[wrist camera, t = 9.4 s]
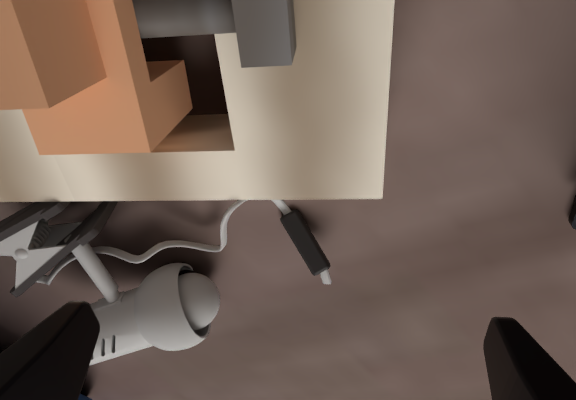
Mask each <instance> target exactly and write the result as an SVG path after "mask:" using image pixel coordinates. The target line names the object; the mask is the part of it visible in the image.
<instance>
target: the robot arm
mask: <svg viewBox="0 0 576 400" xmlns="http://www.w3.org/2000/svg"><path fill="white" fill-rule="evenodd" d="M574 202H575V203H574V206H573V209H572V211H571V214H570V216H569V223H570V224H571V226H572V227H573V228H574V229H575V230H576V196H575V198H574ZM99 333H100V323H99V321H98V319H97V317H96V315H95V313H94V311H93V310H92V308H91V306H90V304H89V303H88V302H85V301H70V302H68V303H66V304H65V305H63V306H62V307H61V308H59V309H58V310H57V311H55V312H54V313H53V314H51V315H50V316H49V317H47V318H46V319H45V320H44V321H42V322H41V323H40V324H38V325H37V326H36V327H34V328H33V329H32V330H30V331H29V332H28V333H26V334H25V335H24V336H22V337H21V338H20V339H18V340H17V341H16V342H14V343H13V344H12V345H10V346H9V347H8V348H7V349H5V350H4V351H3V352H1V353H0V400H78V398H79V395H80V392H81V389H82V387H83V384H84V380H85V377H86V374H87V371H88V368H89V365H90V362H91V358H92V355H93V352H94V349H95V346H96V343H97V339H98V336H99ZM484 355H485V361H486V367H487V372H488V378H489V384H490V390H491V396H492V400H576V383H575V382H574V381H573V380H572V378H571V377H570V376H569V375H568V374H567V373H566V372H565V371H564V370H563V369H562V368H561V367H560V366H559V365H558V364H557V363H556V362H555V361H554V360H553V358H552V357H551V356H550V355H549V354H548V353H547V352H546V351H545V350H544V349H543V348H542V347H541V346H540V345H539V344H538V343H537V342H536V341H535V340H534V338H533V337H532V336H531V335H530V334H529V333H528V332H527V331H526V330H525V329H524V328H523V327H522V326H521V325H520V324H519V323H518V322H517V321H516V320H515V319H513V318H510V317H493V318H492V319H491V321H490V323H489V326H488V329H487V333H486V336H485V339H484Z"/></svg>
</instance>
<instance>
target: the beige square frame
mask: <svg viewBox="0 0 576 400" xmlns="http://www.w3.org/2000/svg"><path fill="white" fill-rule="evenodd" d="M132 2H133V7H134V11H135V16H136V20H137V24H138V29H139V33H140V38H155V37H172V36H189V35H207V34H214V36H215V42H216V47H217V53H218V58H219V64H220V70H221V75H222V81H223V87H224V92H225V98H226V103H227V109H228V114H211V115H186V116H185V117H184V118H183V119H182V120H181V121H180V122H179V123H178V124H177V125H176V126H175V127H174V128H173V130H172V131H171V132H170V133H169V134H168V135H167V136H166V137H165V138H164V139H163V140H162V141H161V142H160V143H159V144H158V145H157V146H156V147H155V149H154V150H153V151H152V152H151V153H110V154H66V155H39V152H38V150H37V147H36V145H35V142H34V140H33V137H32V134H31V132H30V129H29V127H28V124H27V121H26V119H25V116H24V114H23V111H22V109H16V110H0V202H59V201H177V200H296V199H382V196H383V180H384V163H385V147H386V131H387V115H388V99H389V83H390V66H391V50H392V34H393V18H394V2H395V0H132Z"/></svg>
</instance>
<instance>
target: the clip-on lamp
mask: <svg viewBox="0 0 576 400" xmlns="http://www.w3.org/2000/svg"><path fill="white" fill-rule="evenodd" d="M245 201H247V200H237V201H236V202H235V203H234V204H232V205H231V206H230V207H229V208H228V210H227V211H226V212H225V214H224V216H223V218H222V221H221V224H220V240H221V245H219V246H216V245H207V244H201V243H196V242H190V241H181V240H171V241H164V242H161V243H158V244H157V245H155V246H153V247H152V248H151V249H149V250H148V251H147V252H145V253H144V254H142V255H138V256H137V255H132V254H130V253H127V252H125V251H123V250H120V249H118V248H113V247H109V246H98V247H92V248H91V246H90V245H89V243H88V242H89V241H91V240H92V239H93V238H95V237H96V236H97V235H98V234H99V233H100V231H101V230H102V228H103V227H104V225H105V223H106V221H107V220H108V218H109V216H110V214H111V213H112V211H113V209H114V208H115V206H116V204H117V202H118V201H103V202H102V203H101V204H100V205H99V206H98V208H97V209H96V210H95V211H94V212H93V213H92V214H91V215H89V216H88V217H87V218H86V219H85V220H84V221H82V222H76V223H67V224H59V225H50V226H49V225H48V224H47V223H48V221H49V219H50V218H52V217H54V216H55V215H57V214H58V213H60V212H61V211H63V210H64V209H65V208H66V207H67V206H68V205H69V204H70V202H71V201H59V202H35V203H33V204H31V205H29V206H27V207H26V208H24V209H22V210H20V211H18V212H17V213H15V214H13V215H11V216H9V217H8V218H6V219H4V220H2V221H0V256H13V258H14V259H15V260H16V261H17V265H16V282H15V286H14V287H13V288H12V290H11V291H10V293H11V294H13V295H14V296H15V297H18V296H20V295H21V294H22V293H23V292H24V291H26V290H27V289H28V288H29V287H30V286H32V285H33V284H34V283H35V282H38V283H44V284H48V285H50V283H51V281H52V280H53V278H54V277H55V276H56V274H57V273H58V272H59V271H60V270H61V269H62V268H63V267H64V266H66V265H67V264H68V263H70V262H71V261H73V260H75V259H77V260H78V261H79V263H80V264H81V265H82V267H83V268H84V270H85V271H86V272H87V274H88V275H89V276H90V278H91V279H92V281H93V282H94V283H95V285H96V286H97V288H98V289H99V290H100V291H101V293H102V294H103V296H104V297H105V298H102V299H99V300H98V301H97V302H95V303H92V304H90V306H91V308H92V310H93V311H94V313H95V315H96V317H97V319H98V321H99V323H100V333H99V336H98V339H97V343H96V346H95V349H94V352H93V355H92V358H91V362H90V365H92V364H96V363H99V362H102V361H105V360H109V359H112V358H115V357H118V356H122V355H125V354H128V353H131V352H135V351H138V350H141V349H144V348H148V347H151V346H155V347H157V348H160V349H163V350H168V351H178V350H183V349H187V348H191V347H193V346H195V345H197V344H199V343H200V342H202V341H203V340H204V339H205V338H206V337H207V336H208V334H209V331H210V327H211V321H212V320H213V319H214V317H215V316H216V314H217V312H218V310H219V305H220V295H219V291H218V289H217V287H216V285H215V284H214V282H213V281H212V280H211V279H210V278H208V277H207V276H204V275H202V274H198V273H186V274H183V275H180V276H178V273H179V271H181V270H192V271H193V269H192V267H191V266H190V265H189V264H185V263H171V264H167V265H165V266H162V267H160V268H158V269H156V270H154V271H153V272H151V273H150V274H149V275H147V276H146V277H145V278H144V280H143V281H142V282H141V284H140V285H139V287H138V288H135V289H132V290H129V291H126V292H124V291H123V292H120V293H119V291H118V290H117V289H118V285H117V284H116V282H115V281H114V279H113V278H112V276H111V275H110V274H109V272H108V271H107V269H106V268H105V266H104V265H103V263H102V262H101V261H100V259H99V258H98V256H97V255H96V254H108V255H112V256H115V257H118V258H120V259H122V260H125V261H128V262H130V263H136V264H137V263H141V262H144V261H146V260H147V259H149V258H150V257H151V256H153V255H154V254H155V253H157V252H159V251H160V250H162V249H165V248H168V247H186V248H193V249H198V250H203V251H208V252H218V251H221V250H222V249H223V248H224V247H225V245H226V244H227V222H228V219H229V217H230V215H231V214H232V212H233V211H234V210H235V209H236V208H237V207H238V206H239V205H241V204H242V203H244V202H245ZM272 201H273V202H274V203H275V204H276V205H277V207H278V208H279V209H280V210H281V212H282V213H283V215H284V216H282V217H281V218H280V220H281V223H282V224H283V226H284V228H285V229H286V231H287V233H288V234H289V236H290V238H291V239H292V241H293V243H294V244H295V246H296V248H297V249H298V251H299V253H300V254H301V256H302V258H303V259H304V261H305V263H306V264H307V266H308V268H309V270H310V271H311V273H312V274H313V275H314V276H315V275H318V274H320V275H321V279H322V282H323V284H331V283H332V281H331V278H330V275H329V271H328V269H329V268H330V263H329V261H328V259H327V258H326V256H325V254H324V253H323V251H322V249H321V248H320V246H319V244H318V243H317V241H316V239H315V237H314V236H313V234H312V232H311V231H310V229H309V227H308V226H307V224H306V222H305V221H304V219H303V217H302V216H301V214H300V213H299V211H298V210H293V211H291V210H290V208H289V207H288V206H287V205H286V204H285V202H284V201H283V200H272ZM70 252H72V253H73V254H71V255H69V256H68V257H66V256H67V255H68V254H69V253H70ZM64 257H66V258H65V259H63V258H64ZM62 259H63V260H62ZM61 260H62V261H61ZM60 261H61V262H60ZM59 262H60V263H59ZM57 263H59V264H58V265H57V266H56V267H55V268H54V269H53V270H52V271H51V273H50V275H49V276H48V275H44V274H46V273H47V272H48V271H49V270H50V269H51V268H53V267H54V266H55V265H56V264H57Z"/></svg>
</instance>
